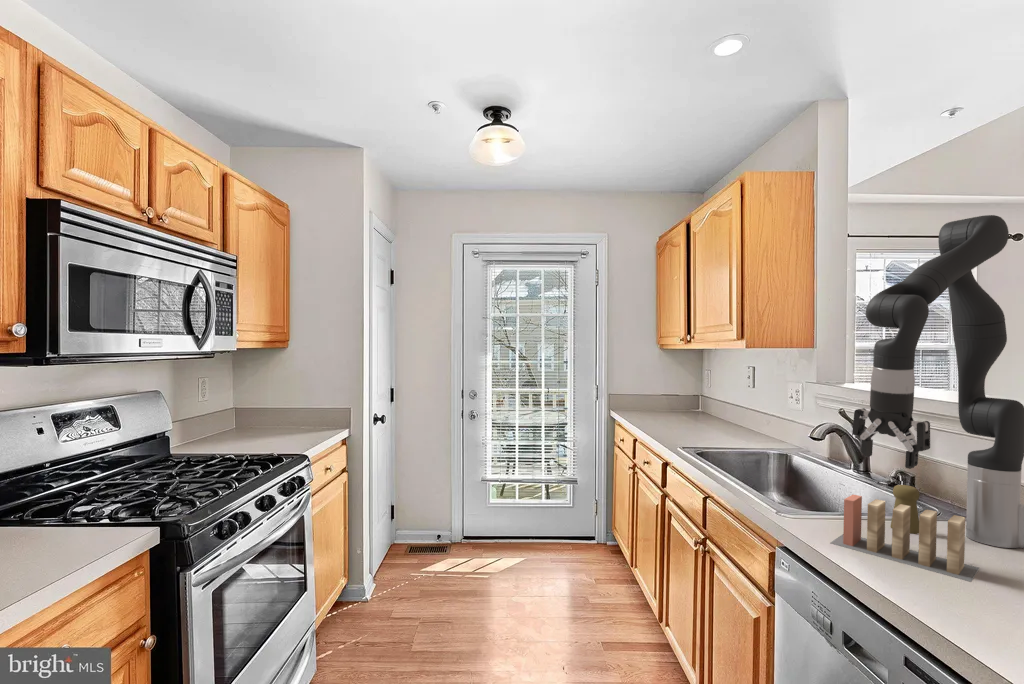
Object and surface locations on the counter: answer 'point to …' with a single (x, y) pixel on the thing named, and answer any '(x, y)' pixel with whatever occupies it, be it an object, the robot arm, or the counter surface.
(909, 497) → the cork
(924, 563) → the domino
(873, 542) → the domino
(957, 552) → the domino
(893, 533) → the domino
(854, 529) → the domino
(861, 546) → the mat
